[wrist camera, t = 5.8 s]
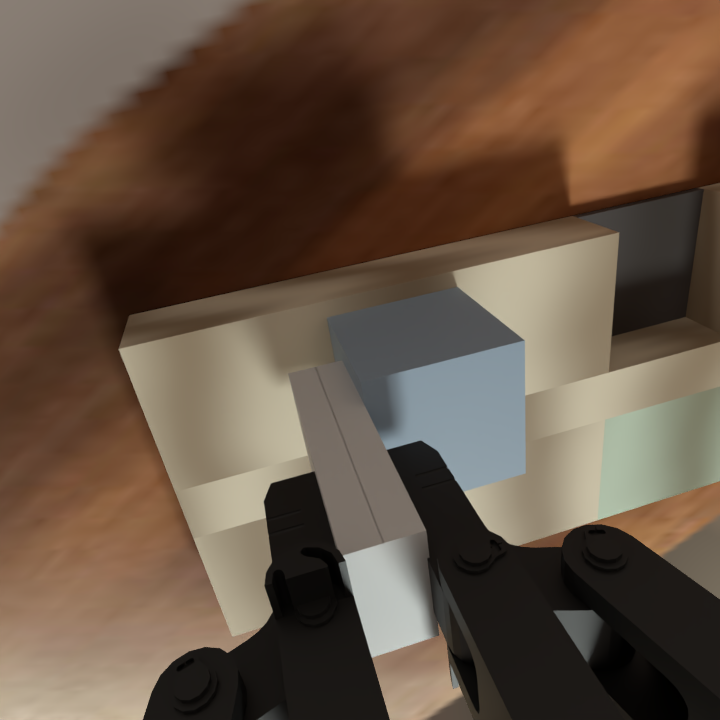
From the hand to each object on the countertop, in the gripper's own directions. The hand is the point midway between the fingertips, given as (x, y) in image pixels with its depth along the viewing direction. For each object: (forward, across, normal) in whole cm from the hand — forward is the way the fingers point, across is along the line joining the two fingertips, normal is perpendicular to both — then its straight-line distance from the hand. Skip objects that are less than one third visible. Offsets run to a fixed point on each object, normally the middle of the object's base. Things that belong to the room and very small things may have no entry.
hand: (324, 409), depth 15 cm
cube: (+2, -3, 0) cm, 3 cm away
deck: (+4, -6, +4) cm, 8 cm away
